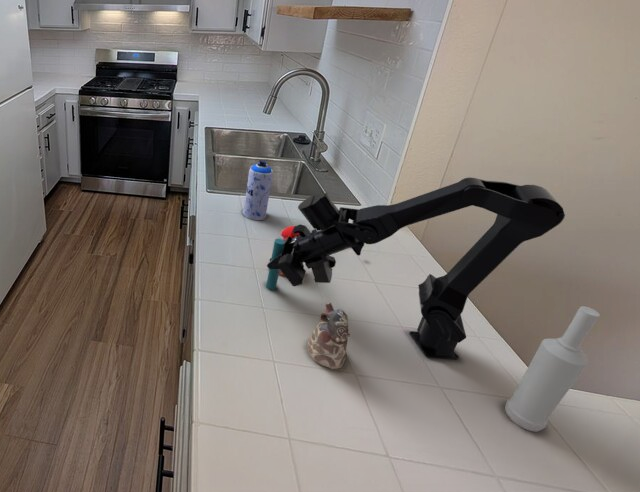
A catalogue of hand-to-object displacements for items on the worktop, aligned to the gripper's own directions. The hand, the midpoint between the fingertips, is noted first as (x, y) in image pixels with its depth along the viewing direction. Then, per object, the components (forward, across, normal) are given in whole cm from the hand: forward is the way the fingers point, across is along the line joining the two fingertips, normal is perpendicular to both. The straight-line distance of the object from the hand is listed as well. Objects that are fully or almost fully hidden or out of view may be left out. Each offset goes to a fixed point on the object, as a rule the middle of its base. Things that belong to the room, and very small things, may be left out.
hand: (269, 264), depth 97 cm
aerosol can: (+14, +34, +4) cm, 37 cm away
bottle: (-29, -10, -38) cm, 49 cm away
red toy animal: (+4, +23, -7) cm, 24 cm away
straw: (+4, 0, -6) cm, 7 cm away
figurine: (-7, -15, -16) cm, 23 cm away
